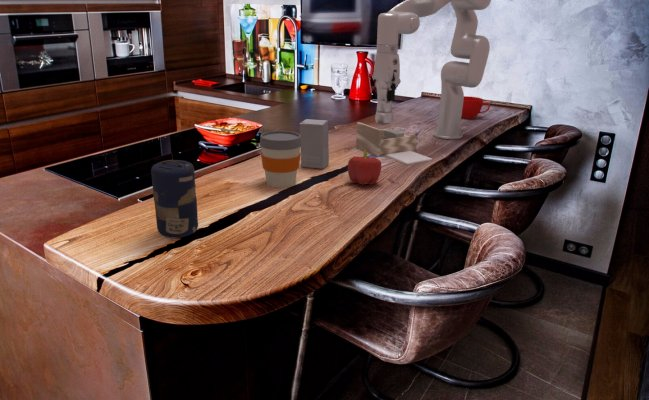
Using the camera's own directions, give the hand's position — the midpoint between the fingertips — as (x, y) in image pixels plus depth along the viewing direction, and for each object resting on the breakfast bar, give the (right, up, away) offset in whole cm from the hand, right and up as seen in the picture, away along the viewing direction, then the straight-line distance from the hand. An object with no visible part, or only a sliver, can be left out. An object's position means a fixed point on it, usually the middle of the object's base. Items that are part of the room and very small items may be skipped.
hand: (384, 98), depth 185 cm
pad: (+9, -23, -3) cm, 24 cm away
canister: (-58, -46, -66) cm, 99 cm away
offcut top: (+4, -13, +8) cm, 16 cm away
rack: (+2, -18, +9) cm, 20 cm away
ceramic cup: (+52, +4, +67) cm, 85 cm away
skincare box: (-26, -26, -15) cm, 40 cm away
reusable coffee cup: (-36, -33, -32) cm, 58 cm away
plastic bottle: (0, -9, +4) cm, 10 cm away
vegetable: (-10, -33, -29) cm, 45 cm away
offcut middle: (+4, -16, +9) cm, 19 cm away
